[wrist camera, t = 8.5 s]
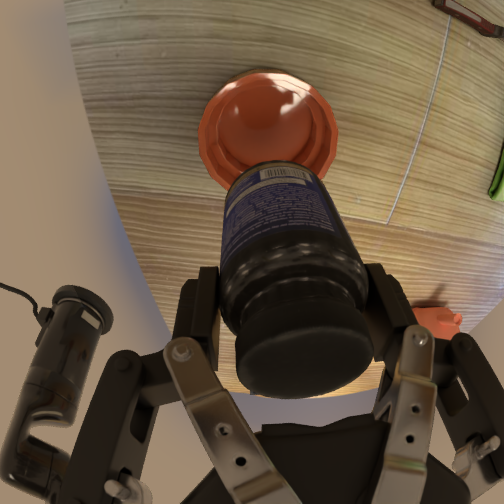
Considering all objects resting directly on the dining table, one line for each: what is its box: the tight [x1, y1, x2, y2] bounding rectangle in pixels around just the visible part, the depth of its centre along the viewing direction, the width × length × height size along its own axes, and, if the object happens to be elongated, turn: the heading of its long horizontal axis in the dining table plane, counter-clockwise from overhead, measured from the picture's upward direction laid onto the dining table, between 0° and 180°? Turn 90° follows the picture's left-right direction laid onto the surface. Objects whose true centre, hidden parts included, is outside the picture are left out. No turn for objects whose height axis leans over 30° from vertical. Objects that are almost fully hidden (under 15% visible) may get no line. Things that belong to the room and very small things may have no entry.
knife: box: [434, 0, 504, 42], centre depth 18 cm, size 17×1×5 cm, turn 82°
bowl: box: [198, 69, 338, 191], centre depth 26 cm, size 12×12×5 cm
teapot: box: [412, 307, 462, 340], centre depth 44 cm, size 14×12×10 cm
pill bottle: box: [218, 160, 374, 399], centre depth 14 cm, size 6×6×11 cm
